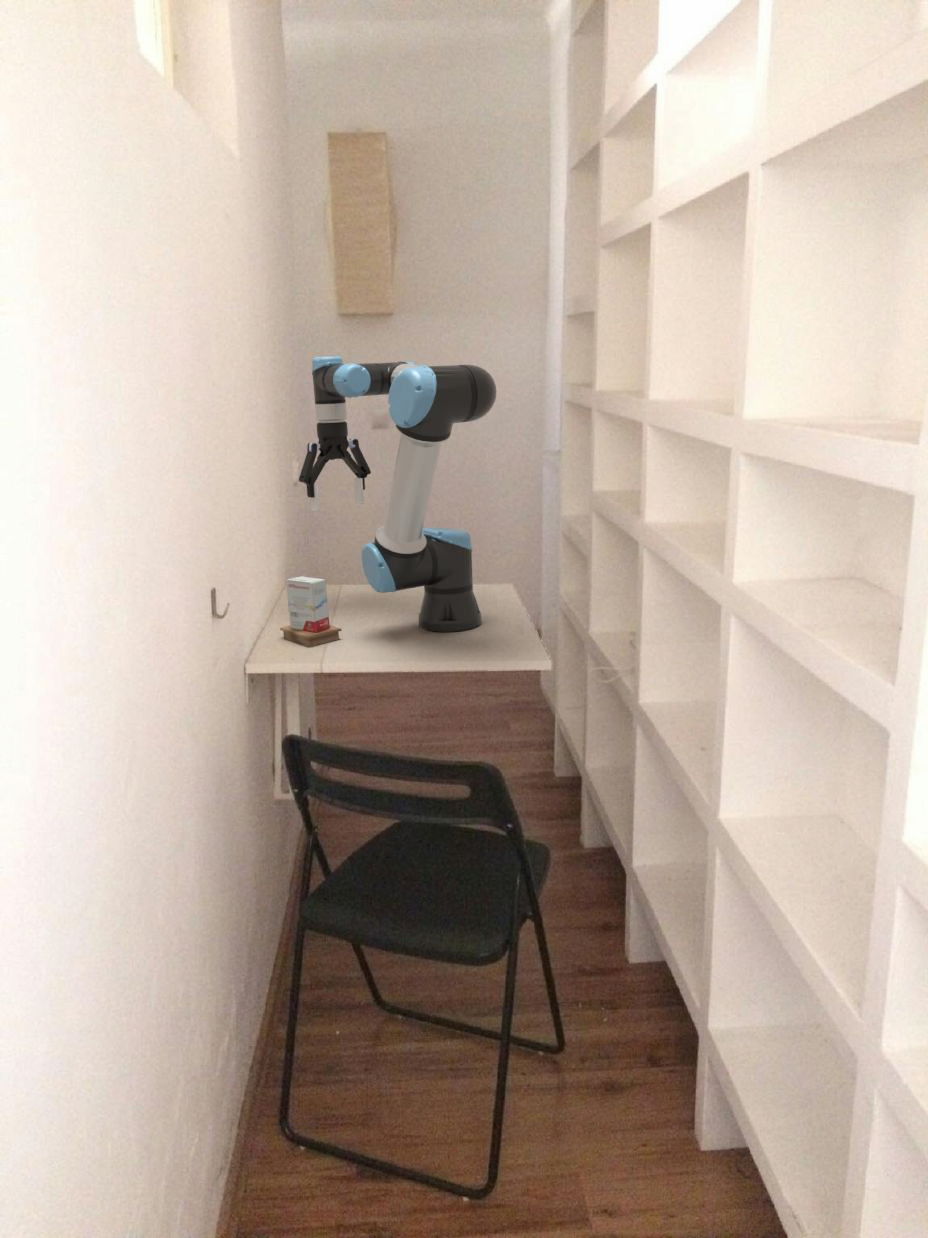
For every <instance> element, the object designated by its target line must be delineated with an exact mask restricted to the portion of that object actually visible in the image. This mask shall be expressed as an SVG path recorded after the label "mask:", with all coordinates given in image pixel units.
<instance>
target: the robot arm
mask: <svg viewBox="0 0 928 1238" xmlns="http://www.w3.org/2000/svg"><path fill="white" fill-rule="evenodd" d="M311 365H312V366H311V369H312V370H311V374H312V383H313V394H314V395H313V396H314V397H313V398H314V407H315V419H316V421H318V422H316V435H317V439H318V442H317V443H316V442H309V443H307V450H306V451H307V452H306V456H305V458H304V462H303V464H302V468H301V471H300V474H299V477H298V481H299V483H304V484H305V485H306V494H307V495H306V496H307V497H308V498H309V499H310V500H309V502H310V503H309V504H310V511H315V512H320V509H321V508H320V498H319V485H318V483H316V481H317V480H318V478H319V476H320V475H321V473H322V471H323V469H324V467H325V466H326V464H327V463H328V462H329V461H333V460H343V462H344V463H345V464H346V465H347V467H348V468H349V469H350V470H351V471H352V473H353V474H354V475H355V476H356V477H353V487H354V503H355V504H360V505H364V504H365V499H364V498H365V497H364V491H365V490H366V483H365V481H366V480H365V479H366V478H368V475H371V473H372V471H371V468H370V467H369V465H368V463H367V461H366V459H365V456H364V455H363V452H362V450H361V448H360V443H359V439H357V438H349V440H348V435H349V432H348V422H347V421H345V420H347V418H348V415H347V413H348V412H347V402H346V398H348V399H349V398H350V399H351V398H358V397H367V396H368V397H369V396H379V395H381V396H383V395H385V396H386V395H388V400H387V401H388V405H389V408H388V411H389V416H390V419H391V420H392V421H393V423H394V424H395V428H396V430H397V431H398V433H399V434H400V439H399V444H398V448H397V449H398V450H397V454H396V461H395V465H394V471H393V476H392V482H391V487H390V492H389V497H388V504H387V508H386V509H387V510H386V514H385V518H384V524H383V525H381V526H380V527H379V528H378V529H377V530H376V532H375V535H374V542H368V543H366V544H365V545H363V547H362V549H361V566H362V569H363V573H364V575H365V578H366V580H367V582H368V584H369V586H370V587H371V588H372V589H373V590H374V591H376V592H377V593H380V594H385V593H396V592H399V591H404V590H410V589H414V588H420V587H423V589H424V590H423V591H424V593H423V597H422V602H421V607H420V612H419V614H418V617H417V618H418V627H419V628H421V629H423V630H426V631H429V632H430V631H431V632H444V633H446V632H448V633H450V632H459V631H460V632H461V631H466V630H470V629H474V628H477V627H478V626H481V624H482V612H481V610H480V609H479V605H478V602H477V598H476V596H475V594H474V586H473V585H474V583H473V581H474V580H473V578H474V577H473V559H472V557H473V556H472V555H473V554H472V553H473V552H472V551H473V548H472V540H471V536H470V534H469V532H468V531H465V530H463V529H457V528H448V527H425V528H424V524H425V520H426V515H427V513H428V512H427V510H428V505H429V503H430V502H429V501H430V496H431V494H432V493H431V492H432V489H433V488H432V487H433V482H434V479H435V473H436V469H437V464H438V459H439V455H440V450H441V446H442V444H443V443H444V442H446V441H448V440H449V439H450V438H451V433H452V431H453V430H452V429H453V425H454V424H460V423H470V422H473V421H477V420H480V419H481V418H483V417H485V416H486V415H487V414H488V413H489V412H490V411H491V409H492V408H493V406H494V404H495V402H496V398H497V385H496V383H495V380H494V378H493V376H492V375H491V374H490V372H488V371H487V370H486V369H485V368H482V366H481V367H480V366H478V365H473V364H459V365H458V364H455V365H454V364H453V365H436V366H435V365H431V366H427V365H417V364H415V363H414V362H412V361H397V362H395V361H393V362H379V363H378V362H371V363H370V362H369V363H367V362H366V363H365V362H363V363H355V362H354V363H344V362H343V358H342V357H341V356H340V355H338V356H333V355H332V356H315V357H313V359H312V360H311ZM348 448H349V449H350V451H351V453H350V452H349V451H348ZM318 452H319V454H318ZM317 454H318V455H317ZM351 454H352V455H351ZM352 456H353V457H352ZM316 457H317V458H316ZM316 459H317V460H316Z"/></svg>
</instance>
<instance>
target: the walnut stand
mask: <svg viewBox="0 0 928 1238" xmlns="http://www.w3.org/2000/svg"><path fill="white" fill-rule="evenodd" d="M279 630H280V631H283V632H282V633H283V639H286V640H289V641H292V642H295V643H298V644H301V645H303V646H306V647H308V648H309V647H310V648H311V647H314V646H319V645H322V644H326V643H330V642H333V641H337V640H340V634H339V632H342V628H341V627H336V626H333V625H331V624H330V628H328V629H325V630H322V631H319V632H310V631H304V630H297V629H292V628H290V625H288V626H287V625H286V626H283V627H280V628H279Z"/></svg>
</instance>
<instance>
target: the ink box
mask: <svg viewBox="0 0 928 1238" xmlns="http://www.w3.org/2000/svg"><path fill="white" fill-rule="evenodd" d="M285 583H286V597H287V604H288V606H287V607H288V613H289V615H288V616H289V624H290V625H289V626H290V628H292V629H297V630H304V631H310V632H319V631H322V630H325V629H328V628H330V625H331V624H330V615H329V614H330V613H329V605H328V604H329V602H328V593H327V581H326V579H324V578H317V577H310V576H302V575H301V576H296V577H291V578H288V579H286V580H285Z"/></svg>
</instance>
